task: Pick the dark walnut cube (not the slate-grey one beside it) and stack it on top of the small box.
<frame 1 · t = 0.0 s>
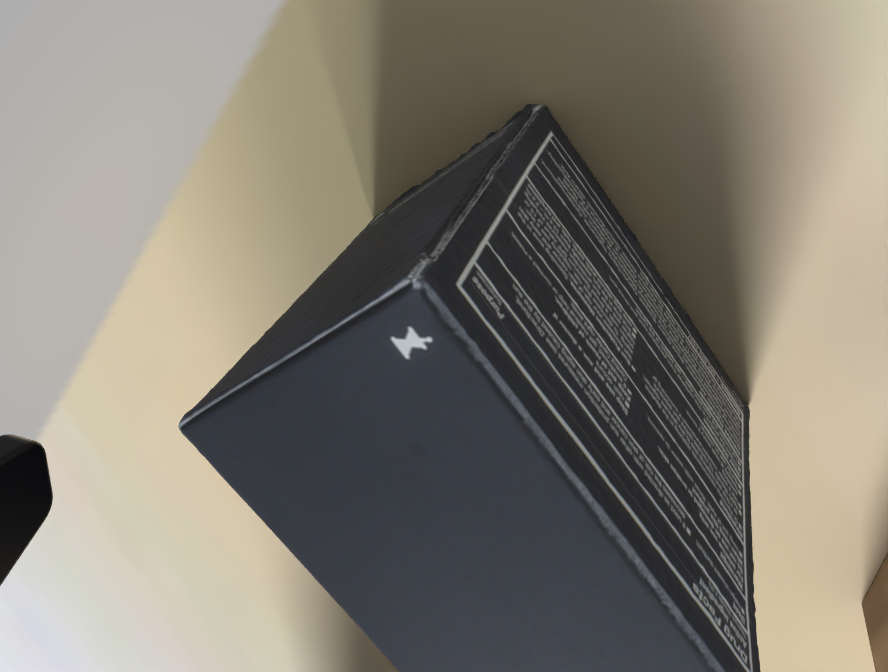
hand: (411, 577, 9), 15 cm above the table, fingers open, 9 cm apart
small box: (556, 312, 24), on the table
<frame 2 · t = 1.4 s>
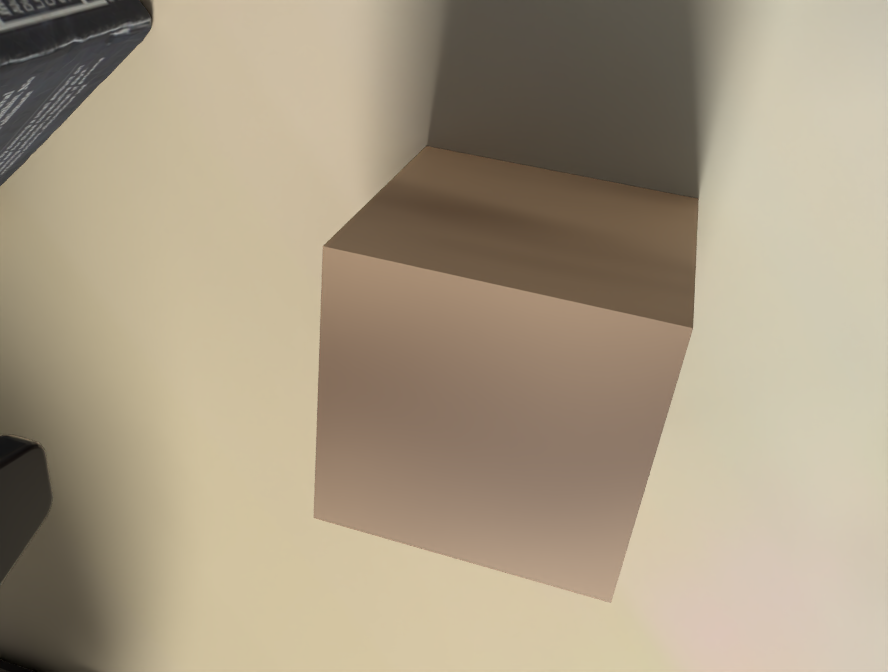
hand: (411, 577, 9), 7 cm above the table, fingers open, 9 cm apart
walnut cube: (536, 291, 15), on the table
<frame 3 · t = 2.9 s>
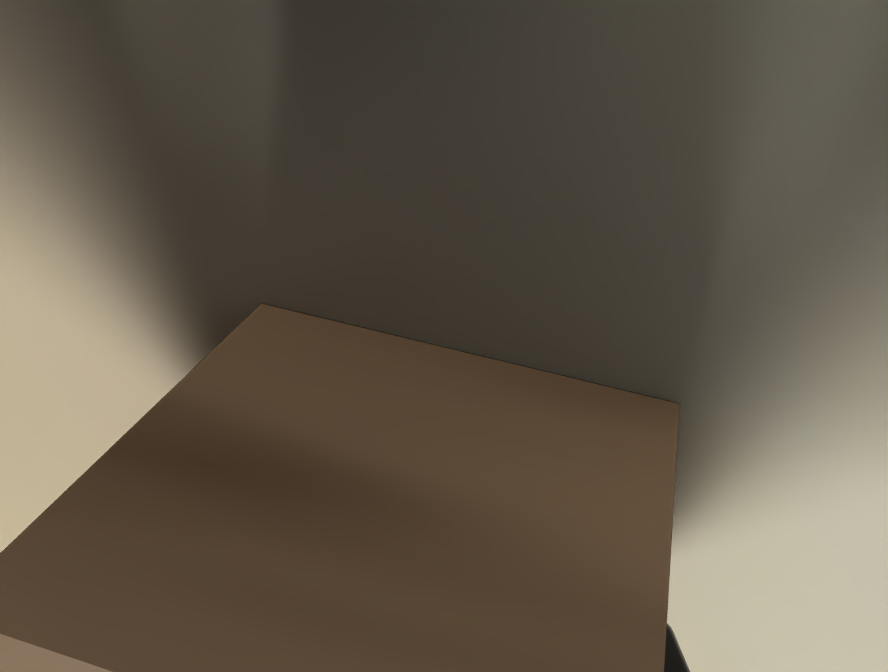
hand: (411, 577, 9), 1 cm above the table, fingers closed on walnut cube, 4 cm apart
walnut cube: (438, 513, 10), on the table, touching gripper
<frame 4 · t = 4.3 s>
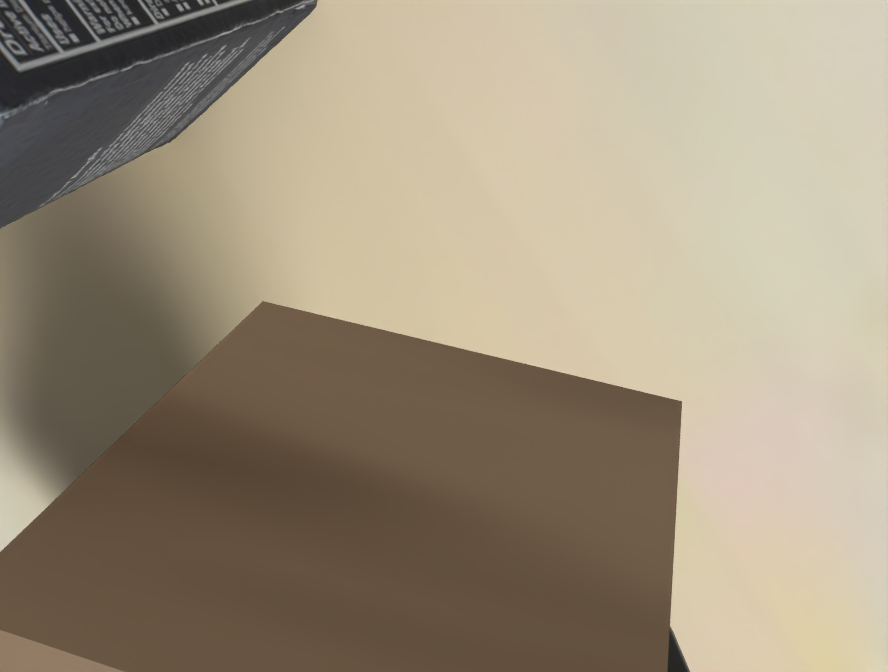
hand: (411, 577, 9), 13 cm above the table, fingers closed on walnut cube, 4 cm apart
walnut cube: (439, 511, 10), point 12 cm above the table, touching gripper
when the fingers open (12 cm above the table, at t = 5.7 s): walnut cube stays where it is, resting on small box.
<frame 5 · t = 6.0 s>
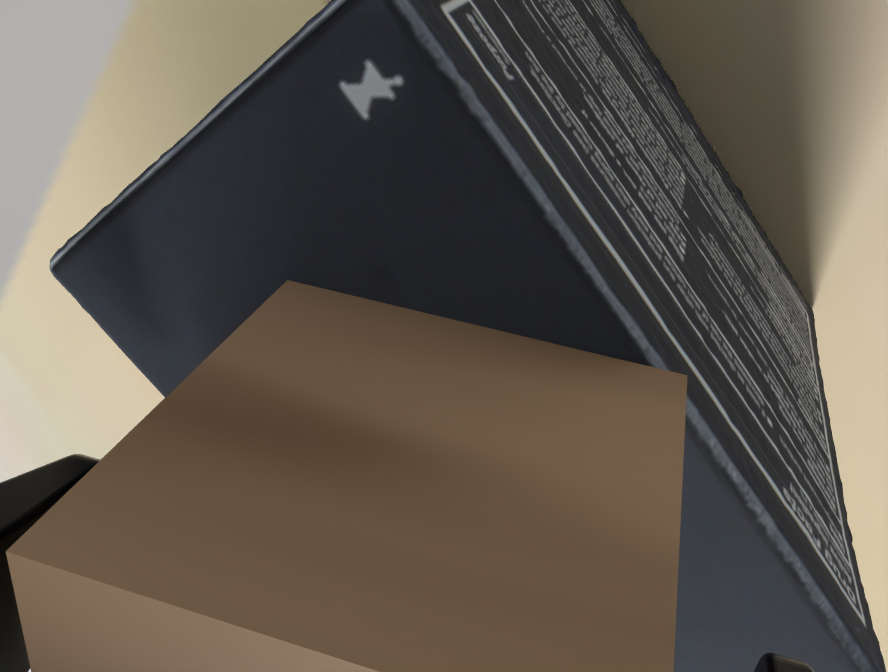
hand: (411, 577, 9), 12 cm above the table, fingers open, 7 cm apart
small box: (572, 196, 19), on the table, touching walnut cube
walnut cube: (454, 483, 10), point 10 cm above the table, touching small box
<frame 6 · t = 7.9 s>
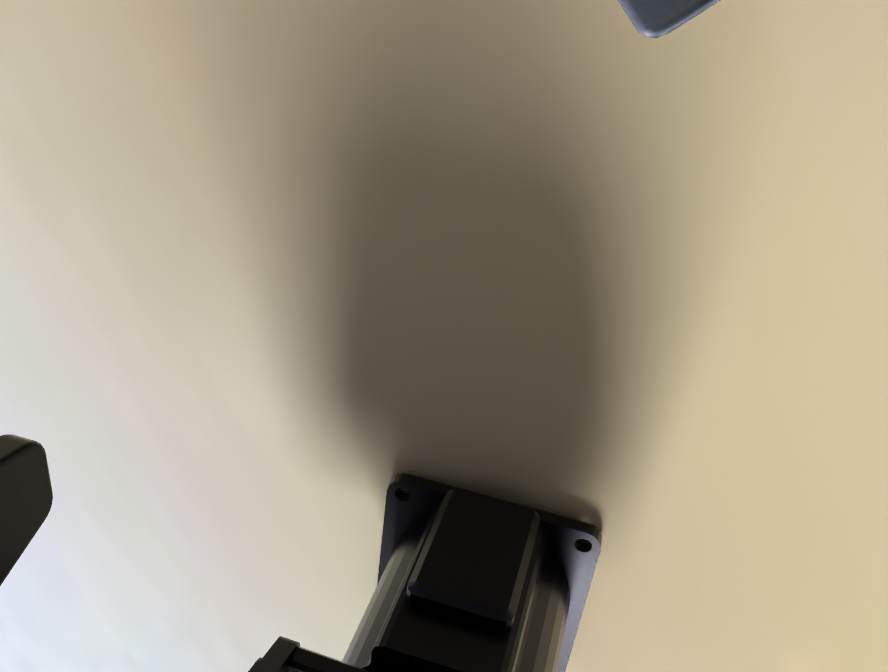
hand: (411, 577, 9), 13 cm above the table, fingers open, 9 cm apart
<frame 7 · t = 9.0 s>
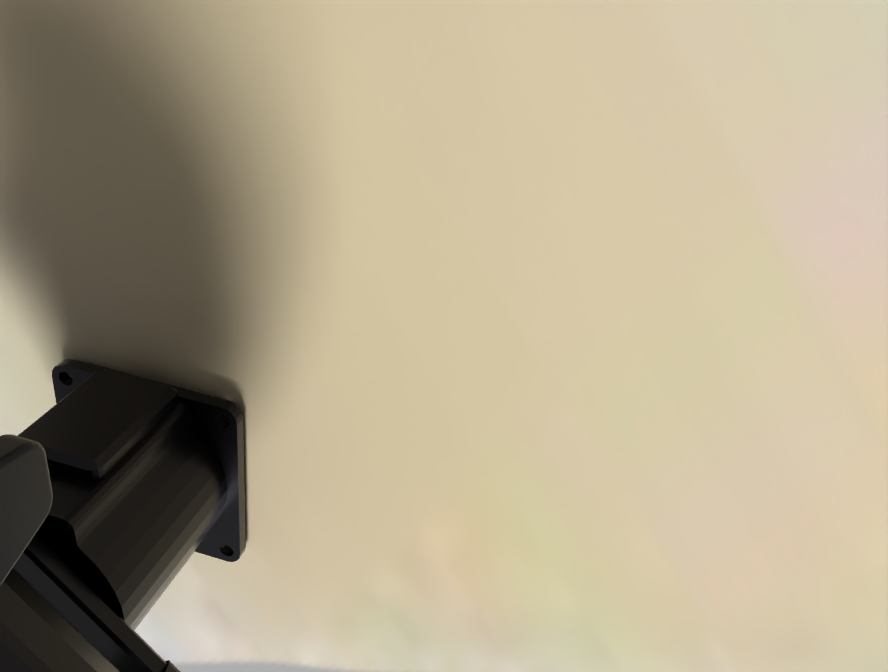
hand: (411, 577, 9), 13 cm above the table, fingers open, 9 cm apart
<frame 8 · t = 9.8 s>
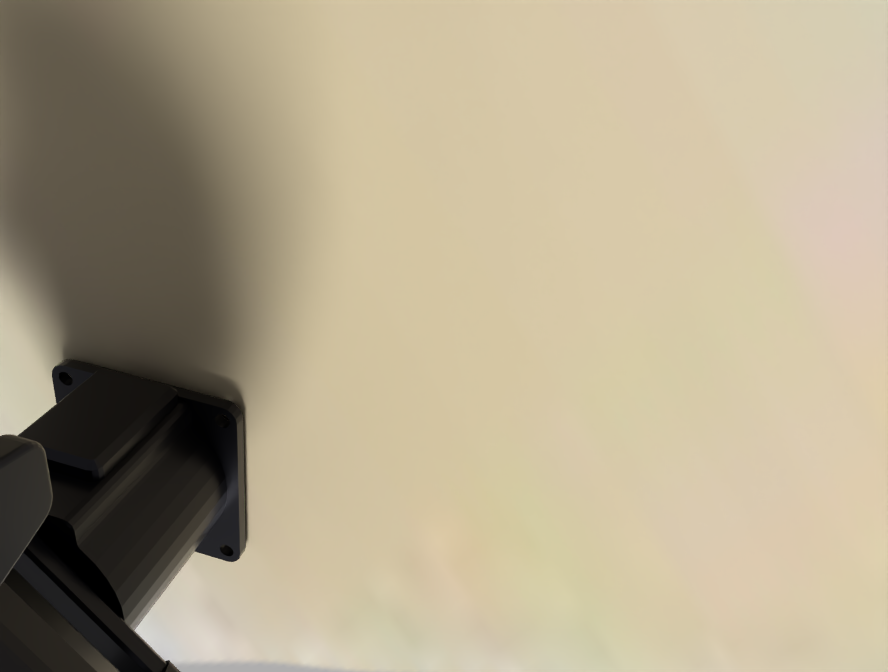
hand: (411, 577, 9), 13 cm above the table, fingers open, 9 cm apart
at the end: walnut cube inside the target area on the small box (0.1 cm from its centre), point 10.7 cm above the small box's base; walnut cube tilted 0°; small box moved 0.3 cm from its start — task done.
